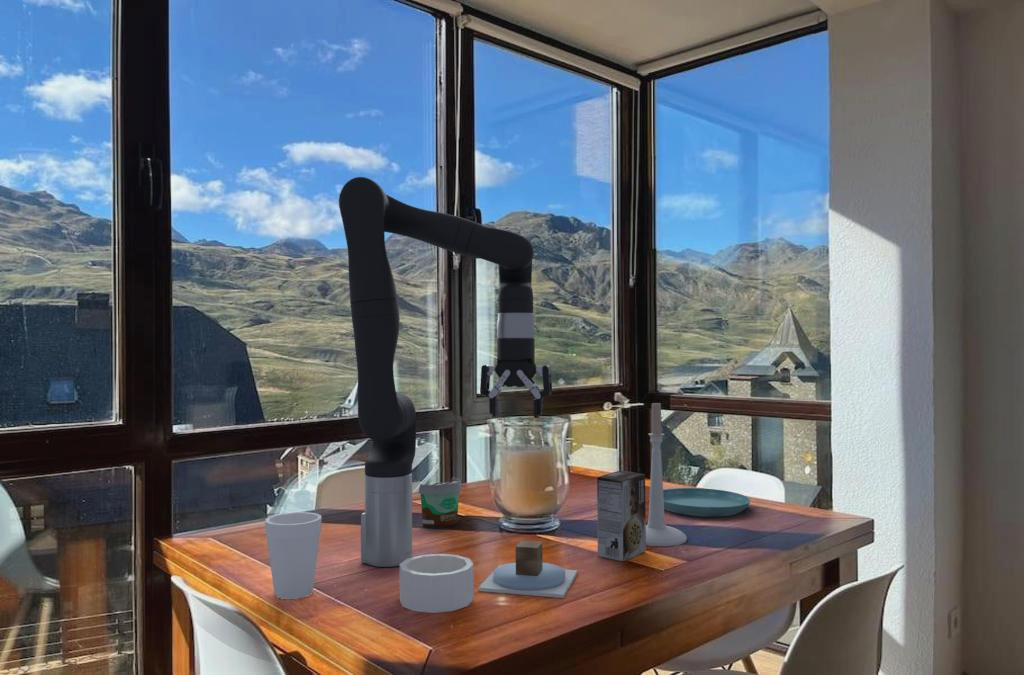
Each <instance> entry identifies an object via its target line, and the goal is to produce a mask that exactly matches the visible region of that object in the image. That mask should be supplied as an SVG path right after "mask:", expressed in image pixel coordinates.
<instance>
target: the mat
mask: <svg viewBox="0 0 1024 675" xmlns="http://www.w3.org/2000/svg"><path fill="white" fill-rule="evenodd" d="M502 565H503V564H499V565H498V566H497V567H499V566H502ZM563 569H564V570H565V582H564V583H563V584H561V585H560V586H557V587H554V588H550V589H545V590H532V591H528V590H515V589H509V588H505V587H502V586H500V585H498V584H496V583H495V582H494V580H493V572H491V573H490V574H489V575H488V577H487V578H486V579H484V581H483V582H482V583H481V584H480V585H479V586H478V592H486V593H487V592H488V593H498V594H509V595H510V594H511V595H521V596H522V595H523V596H534V597H544V598H545V597H546V598H557V599H564V598H565V596H566V595H567V593H568V591H569V589H570V587H571V586H572V584H573V583H574V581H575V579H576V577H577V575H578V570H577V569H566V568H563Z"/></svg>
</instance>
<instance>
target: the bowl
mask: <svg viewBox="0 0 1024 675" xmlns="http://www.w3.org/2000/svg"><path fill="white" fill-rule="evenodd" d="M474 587H475V586H474V563H473V561H472V560H471V559H470V558H469V557H465V556H461V555H458V554H447V553H433V554H431V553H430V554H421V555H418V556H414V557H413V556H412V558H409V559H406V560H405V561H403V562H402V563H401V564H400V565H399V602H400V604H401V607H402V608H405V609H407V610H409V611H412V612H416V613H417V612H419V613H429V614H430V613H431V614H437V613H446V612H455V611H458V610H460V609H463V608H466V607H468V606H469V605H470V604H471V603H472V602H473V601H474V599H475V598H474V595H475V594H474V592H475V591H474Z"/></svg>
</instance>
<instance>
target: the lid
mask: <svg viewBox="0 0 1024 675" xmlns="http://www.w3.org/2000/svg"><path fill="white" fill-rule="evenodd" d="M501 565H502V566H499V565H498V566H499V567H498V566H497V567H495V569H493V571H492V573H493V580H494V582H495V583H496V584H498V585H500V586H502V587H505V588H509V589H515V590H528V591H532V590H545V589H550V588H554V587H557V586H560V585H561V584H563V583H564V582H565V570H564V569H565V568H563V567H561V566H559V565H556V564H553V563H549V562H543V541H529V540H520V541H519V542H518V543H517V544H516V546H515V562H509V563H506V564H501Z"/></svg>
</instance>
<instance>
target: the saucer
mask: <svg viewBox="0 0 1024 675" xmlns="http://www.w3.org/2000/svg"><path fill="white" fill-rule="evenodd" d="M663 498H664V511H667V510H668V512H670V511H671V513H673V512H674V513H673V514H677V513H678V515H682V514H683V516H688V515H689V516H690V517H701V518H702V517H703V518H707V517H708V518H720V517H721V518H722V517H730V516H735V515H737V514H740V513H741V512H743V511H744V510H746V509H747V508H748V507H749V505H750V504H751V498H749V496H747V495H744V494H741V493H738V492H733V491H728V490H722V489H716V488H715V489H714V488H701V487H700V488H699V487H681V488H680V487H679V488H678V487H676V488H667V489H666V488H665V489H663Z"/></svg>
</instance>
